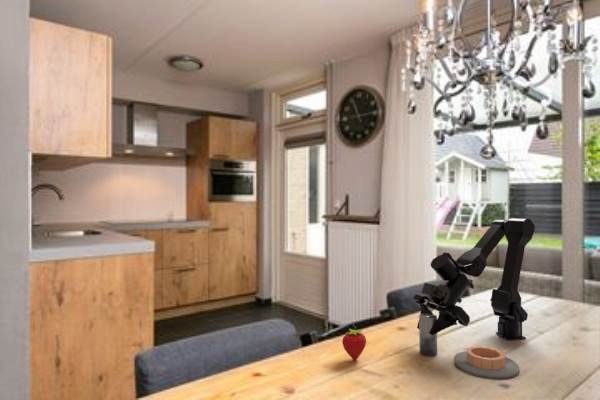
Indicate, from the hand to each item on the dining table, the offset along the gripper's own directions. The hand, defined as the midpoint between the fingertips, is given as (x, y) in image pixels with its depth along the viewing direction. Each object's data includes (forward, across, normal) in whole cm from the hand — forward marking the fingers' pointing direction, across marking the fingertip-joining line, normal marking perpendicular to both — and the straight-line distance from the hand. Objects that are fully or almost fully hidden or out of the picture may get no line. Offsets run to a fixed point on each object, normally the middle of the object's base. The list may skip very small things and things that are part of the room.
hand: (424, 331), depth 115 cm
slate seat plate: (-2, +13, +11) cm, 18 cm away
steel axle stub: (+4, 0, +6) cm, 7 cm away
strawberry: (+20, -5, -10) cm, 23 cm away
